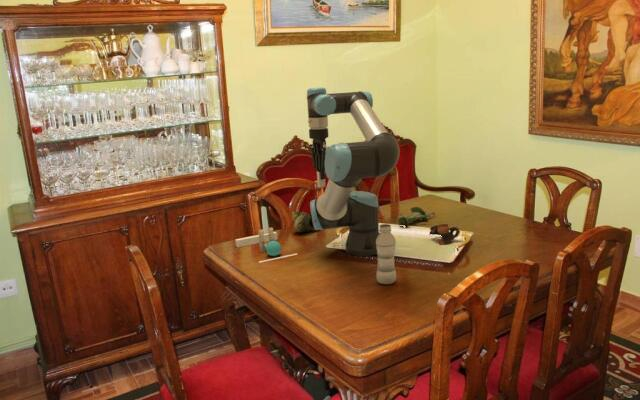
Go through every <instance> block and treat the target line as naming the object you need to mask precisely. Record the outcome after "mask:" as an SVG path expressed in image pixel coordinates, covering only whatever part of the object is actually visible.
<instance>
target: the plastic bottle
mask: <svg viewBox="0 0 640 400" xmlns="http://www.w3.org/2000/svg"><path fill="white" fill-rule="evenodd" d="M379 233H380V234H379V235H378V237H377V238H376V247H377V254H376V255H377V266H376V267H377V269H376V275H375V277H376V281H377V283H379V284H380V285H392V284H393V283H395V281H396V278H397V272H396V267H395V250H396V244H397V243H396V237H395V236H394V234H393V233H392V226H391V224H389V223H388V224H387V223H384V224H380V225H379Z"/></svg>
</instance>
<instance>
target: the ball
mask: <svg viewBox="0 0 640 400" xmlns="http://www.w3.org/2000/svg"><path fill="white" fill-rule="evenodd" d="M266 245H267V246H266V250H265V252H266V253H267V254H268V255H269V256H271V257H276V256H277V257H278V256H279V255H280V254H281V252H282V245H281V244H280V242H279V241H277V240H274V241H271V242H269V241H268V243H266Z"/></svg>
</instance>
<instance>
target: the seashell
mask: <svg viewBox="0 0 640 400" xmlns="http://www.w3.org/2000/svg"><path fill="white" fill-rule="evenodd" d="M291 216H292V221H293V229H294V231H295V232H297V233H300V234H301V233H303V234H304V233H308V232H313V231H314V232H315V231H317V230H316V229H315V228H314V226H313V221H312V216H311V214H309V212H306V211H292V214H291Z"/></svg>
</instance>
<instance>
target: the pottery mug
mask: <svg viewBox="0 0 640 400" xmlns="http://www.w3.org/2000/svg"><path fill="white" fill-rule="evenodd" d="M429 230H430V231H429V236H431V235H434V236H435V235H437V236H440V235H441V236H442V237H441V236H440V237H441V238H438V239H437V240H436V241H437V244H438V245H439V244H441V245H445V244H452V243H453V241H454V240H455V238H457V237H459V235H460V233H461V231H460V228H458V227H457V226H453V227H450V226H449V224H448V223H442V224H437V225H434V226H431V227H430V228H429ZM454 232H455V234H454Z"/></svg>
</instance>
